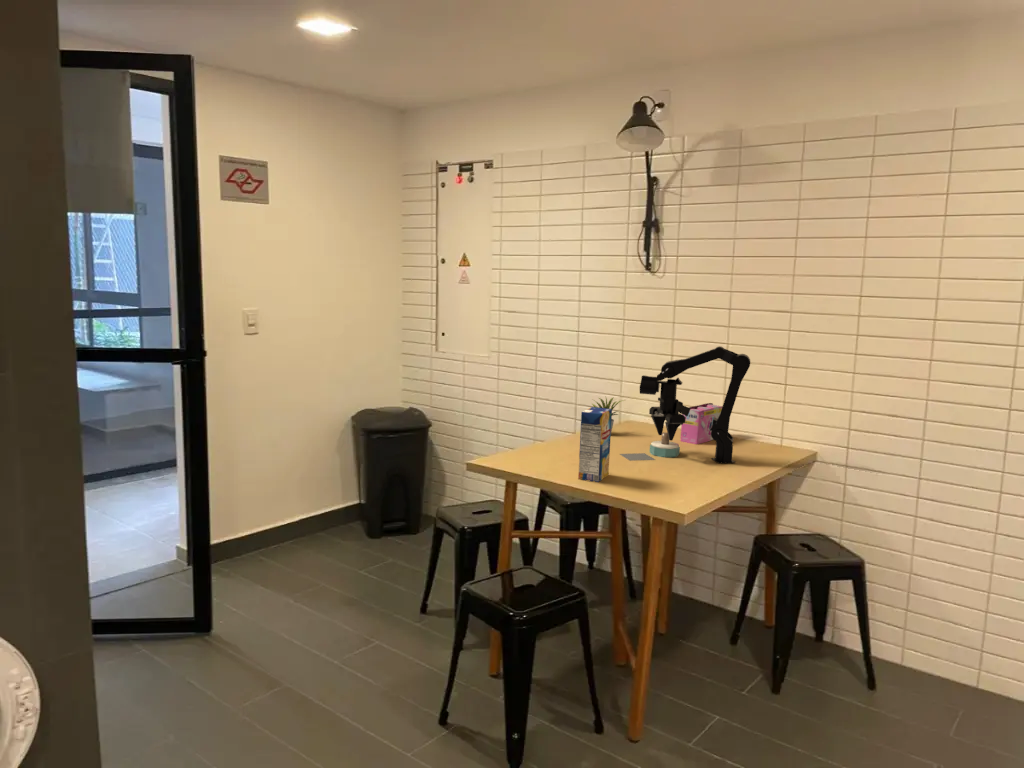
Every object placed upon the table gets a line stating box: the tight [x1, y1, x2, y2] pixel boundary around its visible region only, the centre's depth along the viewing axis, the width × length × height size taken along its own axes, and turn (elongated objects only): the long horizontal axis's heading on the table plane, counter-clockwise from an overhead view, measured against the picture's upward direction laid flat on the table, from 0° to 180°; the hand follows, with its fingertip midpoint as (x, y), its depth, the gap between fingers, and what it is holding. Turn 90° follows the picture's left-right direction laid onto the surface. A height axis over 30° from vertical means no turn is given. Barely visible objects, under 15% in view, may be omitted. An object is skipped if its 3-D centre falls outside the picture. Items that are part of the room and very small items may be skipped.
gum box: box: [679, 402, 723, 445], centre depth 313 cm, size 24×8×14 cm, turn 137°
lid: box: [650, 431, 680, 449], centre depth 281 cm, size 10×10×5 cm
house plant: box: [591, 396, 626, 433], centre depth 315 cm, size 14×14×16 cm
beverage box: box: [577, 406, 613, 483], centre depth 246 cm, size 7×11×22 cm, turn 156°
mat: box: [619, 452, 656, 462], centre depth 276 cm, size 10×10×1 cm
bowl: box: [649, 444, 681, 458], centre depth 281 cm, size 10×10×4 cm
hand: (665, 437), depth 281 cm, fingers open, 9 cm apart
